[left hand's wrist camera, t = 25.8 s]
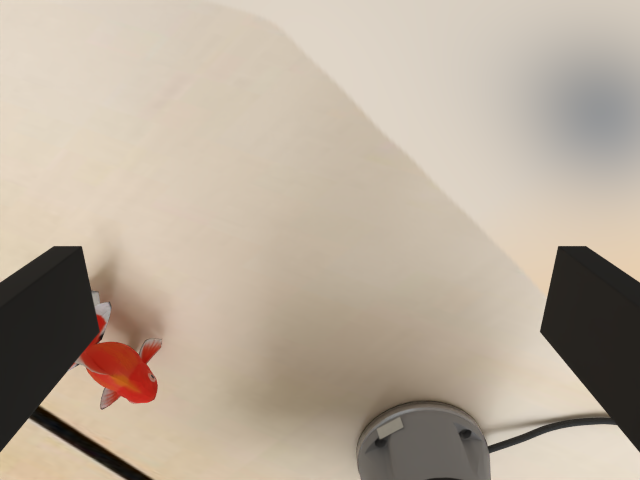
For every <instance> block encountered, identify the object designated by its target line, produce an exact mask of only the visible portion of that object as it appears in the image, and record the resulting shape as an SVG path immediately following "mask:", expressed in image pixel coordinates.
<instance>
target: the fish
mask: <svg viewBox="0 0 640 480" xmlns="http://www.w3.org/2000/svg"><path fill="white" fill-rule="evenodd" d="M91 292H92V297H93V302H94V306H95V311H96V316H97V320H98V325H99V330H100V332H99V334H98V335H97V336H96V337H95V338H94V340H93V341H92V342H91V343H90V344H89V346H88V347H87V348H86V349H85V350H84V352H83V353H82V354H81V355H80V357H79V358H78V359H77V360H76V361H75V363H74V364H73V365H72V366H71V367H70V369H69V370H71V369H72V368H74V367H76V366H78V365H79V364H80V365H83V366H85V367H86V369H87V371H88V373H89V374H90V375H91V376H92V378H93V379H94V380H95V381H96V382H98V383H99V384H100V385H102V386H103V387H105V389H104V391H103V394H102V397H101V404H100V407H101V409H104V408H106V407H108V406H110V405H111V404H112V403H113V402H115V401H116V400H117V399H118V398H119V397H120V396H122V397H124V398H127V399H128V401H129V402H131V403H133V404H136V403H148V402H150V401H152V400H154V399H155V397H156V393H157V387H158V385H157V380H156V378H155V376H154V375H153V373H152V372H151V370H150V369H149V367H148V366H147V363H148V361H149V360H150V359H151V358H152V357H153V356H154V355H155V354H156V352H157V351H158V350H159V349H160V348H161V344H162V340H161V339H148V340H146V341H145V342H144V344H143V345H142V347H141V350H140V353H139V354H138V353H137V352H136V351H135V350H133V349H132V348H131V347H129V346H127V345H125V344H122V343H118V342H104V343H99V341H101V340H102V337H103V335H104V332H105V329H106V326H107V323H108V320H109V317H110V312H111V304H110V302H106V303H100V299H99V292H96V291H91ZM69 370H68V371H69Z"/></svg>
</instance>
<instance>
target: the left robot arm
mask: <svg viewBox="0 0 640 480" xmlns="http://www.w3.org/2000/svg"><path fill="white" fill-rule="evenodd" d="M99 332H100V330H99V325H98V320H97V316H96V311H95V306H94V302H93V297H92V292H91V288H90V283H89V278H88V273H87V269H86V264H85V259H84V255H83V250H82V246H54V247H52V248H51V249H49V250H48V251H46V252H45V253H43V254H42V255H40V256H39V257H37V258H36V259H34V260H33V261H31V262H30V263H28V264H27V265H25V266H24V267H23V268H21V269H20V270H18V271H17V272H15V273H14V274H12V275H11V276H9V277H8V278H6V279H5V280H3V281H2V282H0V452H1V451H2V449H3V448H4V447H5V446H6V445H7V443H8V442H9V441H10V440H11V439H12V437H13V436H14V435H15V434H16V433H17V431H18V430H19V429H20V428H21V427H22V425H23V424H24V423H25V422H26V421H27V419H28V418H29V417H30V416H31V414H32V413H33V412H34V411H35V410H36V408H37V407H38V406H39V405H40V404H41V402H42V401H43V400H44V399H45V398H46V396H47V395H48V394H49V393H50V392H51V390H52V389H53V388H54V387H55V385H56V384H57V383H58V382H59V381H60V379H61V378H62V377H63V376H64V375H65V373H66V372H67V371H68V370H69V369H70V367H71V366H72V365H73V364H74V363H75V361H76V360H77V359H78V358H79V357H80V355H81V354H82V353H83V352H84V350H85V349H86V348H87V347H88V346H89V344H90V343H91V342H92V341H93V340H94V338H95V337H96V336H97V335H98V334H99ZM540 332H541V334H542V335H543V336H544V337H545V338H546V340H547V341H548V342H549V343H550V344H551V346H552V347H553V348H554V349H555V350H556V352H557V353H558V354H559V355H560V357H561V358H562V359H563V360H564V361H565V363H566V364H567V365H568V366H569V367H570V369H571V370H572V371H573V372H574V373H575V375H576V376H577V377H578V378H579V379H580V381H581V382H582V383H583V384H584V385H585V387H586V388H587V389H588V390H589V392H590V393H591V394H592V395H593V396H594V398H595V399H596V400H597V401H598V402H599V404H600V405H601V406H602V407H603V408H604V410H605V411H606V412H607V413H608V414H609V416H610V417H611V418H583V419H573V420H567V421H561V422H556V423H552V424H548V425H545V426H542V427H540V428H537V429H535V430H532V431H530V432H527V433H525V434H522V435H520V436H517V437H514V438H511V439H508V440H505V441H502V442H499V443H496V444H493V445H490V446H487V443H486V440H485V438H484V435H483V433H482V431H481V429H480V427H479V425H478V424H477V423H476V421H475V420H474V419H473V418H472V417H471V416H470V415H468V414H467V413H466V412H464V411H462V410H461V409H459V408H457V407H454V406H452V405H449V404H445V403H440V402H433V401H419V402H411V403H406V404H402V405H399V406H396V407H394V408H391V409H389V410H387V411H385V412H384V413H382V414H380V415H379V416H378V417H376V418H375V419H374V420H373V421H372V422H371V423H370V424H369V425H368V426H367V427H366V429H365V430H364V431H363V433H362V435H361V437H360V439H359V442H358V446H357V463H358V471H359V474H360V478H361V480H491V474H490V455H489V453H492V452H495V451H498V450H501V449H504V448H507V447H510V446H512V445H515V444H518V443H521V442H524V441H526V440H529V439H531V438H534V437H536V436H539V435H541V434H544V433H546V432H549V431H553V430H557V429H561V428H566V427H572V426H580V425H594V424H612V425H618V427H619V428H620V429H621V430H622V431H623V433H624V434H625V435H626V436H627V437H628V439H629V440H630V441H631V442H632V443H633V445H634V446H635V447H636V448H637V449H638V451H639V452H640V282H638V281H637V280H635V279H634V278H632V277H631V276H629V275H628V274H626V273H625V272H623V271H622V270H620V269H619V268H617V267H616V266H614V265H613V264H612V263H610V262H609V261H607V260H606V259H604V258H603V257H601V256H600V255H598V254H597V253H595V252H594V251H592V250H591V249H589V248H588V247H586V246H558V250H557V255H556V259H555V264H554V269H553V274H552V278H551V283H550V288H549V292H548V297H547V302H546V306H545V311H544V316H543V320H542V325H541V330H540Z"/></svg>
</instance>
